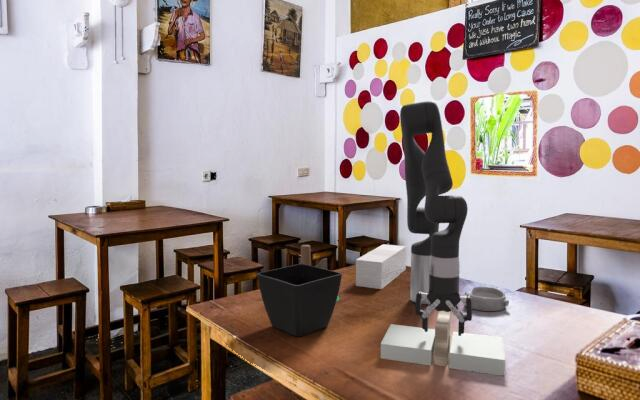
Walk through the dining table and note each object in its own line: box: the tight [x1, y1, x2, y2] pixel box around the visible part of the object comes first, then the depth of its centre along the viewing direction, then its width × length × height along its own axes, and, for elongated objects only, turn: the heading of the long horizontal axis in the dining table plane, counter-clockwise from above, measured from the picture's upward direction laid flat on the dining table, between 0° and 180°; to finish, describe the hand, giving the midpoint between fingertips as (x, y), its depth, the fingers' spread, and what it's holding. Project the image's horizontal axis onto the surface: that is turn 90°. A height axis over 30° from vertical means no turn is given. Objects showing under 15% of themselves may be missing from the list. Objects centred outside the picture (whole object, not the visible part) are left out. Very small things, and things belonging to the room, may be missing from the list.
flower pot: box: [257, 263, 343, 337], centre depth 143 cm, size 19×19×17 cm
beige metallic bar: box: [433, 311, 452, 367], centre depth 123 cm, size 12×3×10 cm, turn 161°
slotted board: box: [380, 323, 506, 377], centre depth 123 cm, size 14×30×4 cm, turn 71°
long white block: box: [355, 243, 407, 290], centre depth 197 cm, size 32×11×11 cm, turn 153°
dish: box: [463, 286, 510, 312], centre depth 161 cm, size 14×14×5 cm
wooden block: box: [300, 244, 328, 270], centre depth 175 cm, size 4×11×18 cm, turn 53°
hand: (442, 332), depth 123 cm, fingers open, 8 cm apart
